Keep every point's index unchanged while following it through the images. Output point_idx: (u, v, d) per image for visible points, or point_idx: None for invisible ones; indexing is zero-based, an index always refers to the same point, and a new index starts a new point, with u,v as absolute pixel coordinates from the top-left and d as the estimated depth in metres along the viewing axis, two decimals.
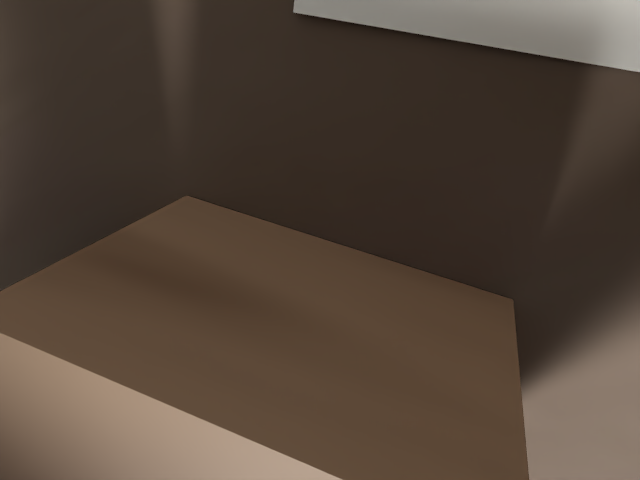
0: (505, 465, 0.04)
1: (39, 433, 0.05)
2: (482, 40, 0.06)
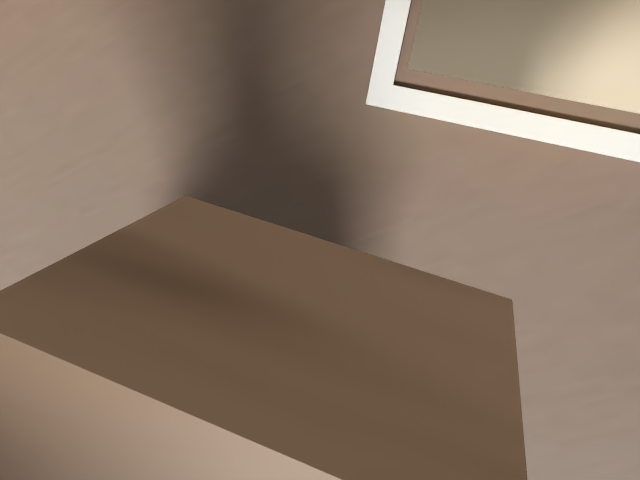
0: (504, 465, 0.04)
1: (38, 433, 0.05)
2: (436, 117, 0.16)
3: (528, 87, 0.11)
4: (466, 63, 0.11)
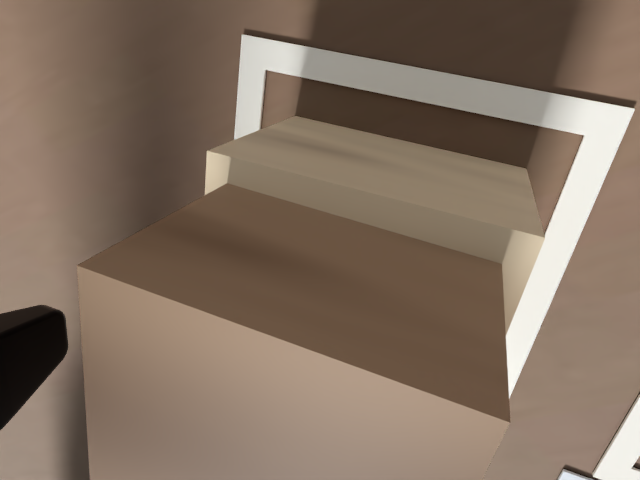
0: (490, 369, 0.06)
1: (135, 359, 0.06)
2: None
3: None
4: None
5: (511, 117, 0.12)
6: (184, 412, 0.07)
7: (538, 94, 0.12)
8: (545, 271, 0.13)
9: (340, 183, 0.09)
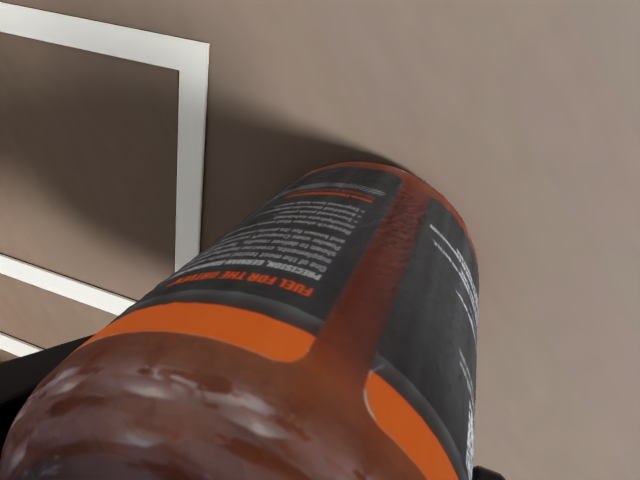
0: None
1: None
2: None
3: None
4: None
5: None
6: None
7: None
8: None
9: None
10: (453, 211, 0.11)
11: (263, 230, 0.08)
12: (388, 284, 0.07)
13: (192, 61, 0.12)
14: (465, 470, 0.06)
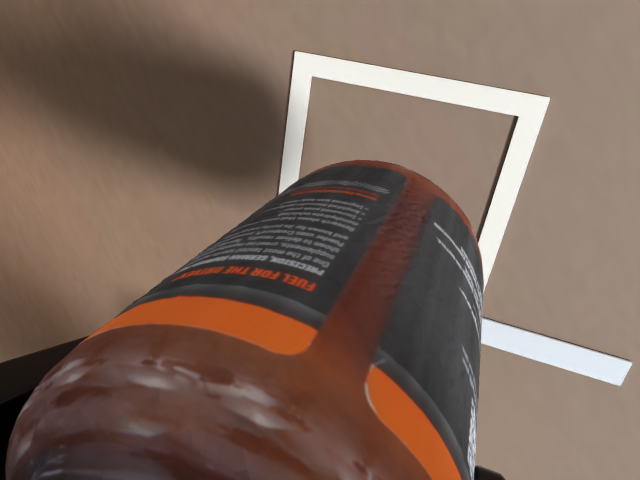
0: None
1: None
2: None
3: None
4: None
5: None
6: None
7: None
8: None
9: None
10: (458, 210, 0.11)
11: (267, 226, 0.08)
12: (392, 281, 0.07)
13: (532, 110, 0.17)
14: (466, 465, 0.06)
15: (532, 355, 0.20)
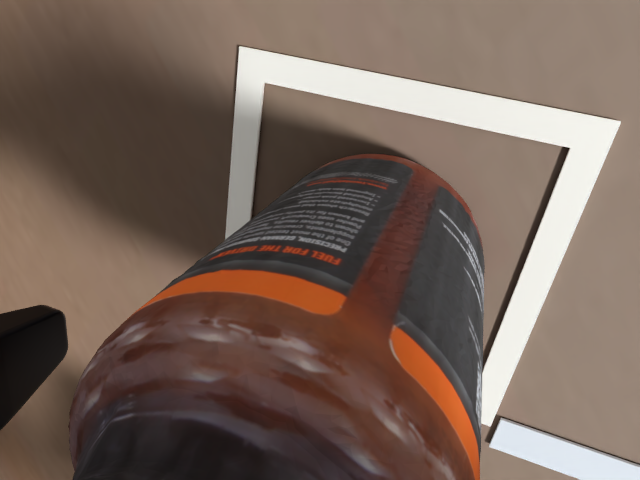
0: None
1: None
2: None
3: None
4: None
5: None
6: None
7: None
8: None
9: None
10: (460, 199, 0.12)
11: (290, 212, 0.08)
12: (406, 258, 0.08)
13: (591, 139, 0.11)
14: (475, 416, 0.07)
15: (572, 472, 0.15)
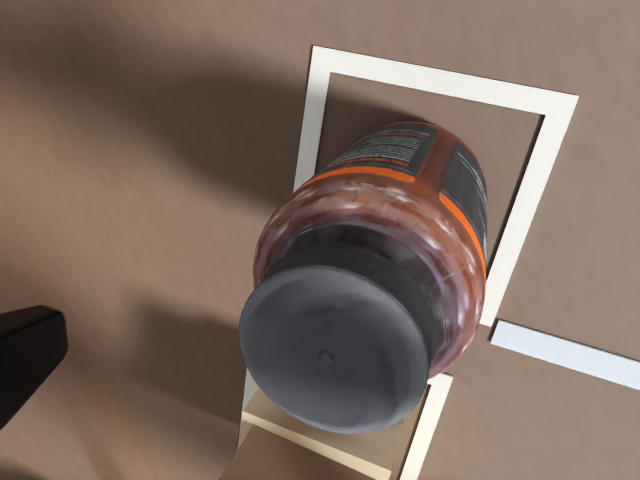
0: None
1: None
2: None
3: None
4: None
5: None
6: None
7: None
8: None
9: None
10: (470, 151, 0.17)
11: (368, 147, 0.14)
12: (441, 170, 0.13)
13: (560, 108, 0.16)
14: (483, 249, 0.12)
15: (551, 359, 0.20)
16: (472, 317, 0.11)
